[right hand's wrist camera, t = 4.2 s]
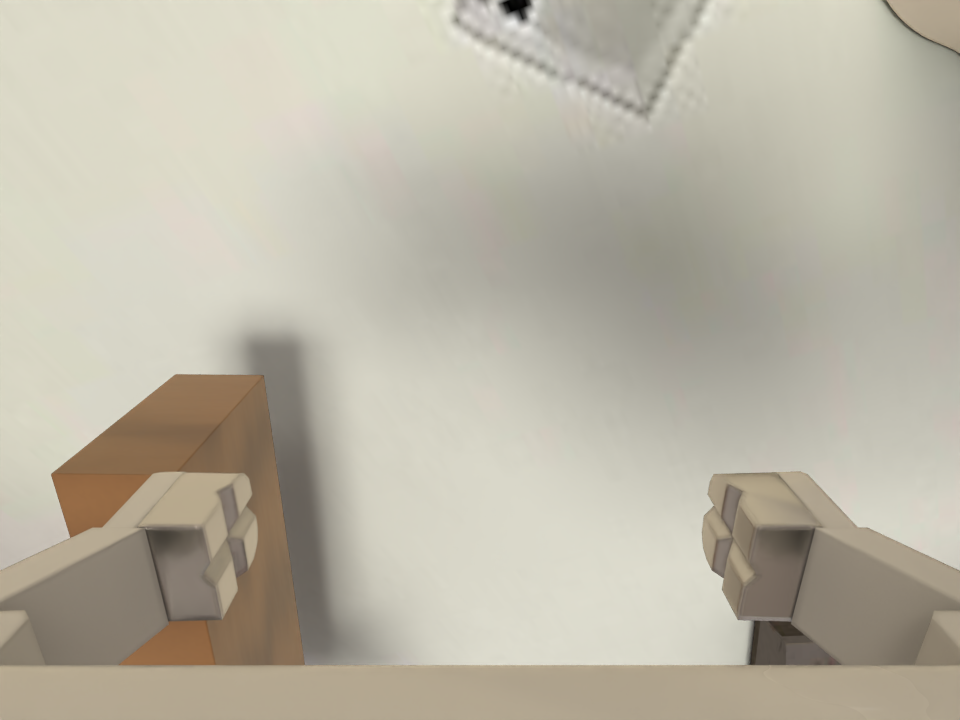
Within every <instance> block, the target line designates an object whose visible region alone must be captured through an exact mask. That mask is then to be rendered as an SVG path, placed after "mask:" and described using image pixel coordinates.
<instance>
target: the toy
mask: <svg viewBox="0 0 960 720" xmlns="http://www.w3.org/2000/svg"><path fill="white" fill-rule="evenodd" d="M791 622H792V621H756V620H755V628H754V637H753V647H752V656H751V665H841V664H840V663H839V662H838V661H836V660H835V659H834V658H833V657H831V656H830V655H829V654H828V653H826V652H825V651H824V650H823V649H821V648H820V647H819V646H818V645H817V644H815V643H814V642H813V641H812V640H810V639H809V638H808V637H807V636H805V635H804V634H803V633H802V632H800V631H799V630H798V629H797V628H795V627H794V626H793V625H792V624H791Z"/></svg>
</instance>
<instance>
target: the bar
mask: <svg viewBox="0 0 960 720" xmlns="http://www.w3.org/2000/svg"><path fill="white" fill-rule="evenodd" d="M158 472H218V473H244V474H245V475H246V476H247V477H248V478H249V480H250V485H251V490H252V496H251V498H250V499H249V501H248V503H247V504H246V506H247V507H248V508H249V509H250V510H251V511H252V512H253V513H254V514H255V515H256V519H257V525H258V543H257V547H256V552H255V556H254V559H253V561H252V563H251V565H250V567H249V570H248V571H246V572H245V573H243V574H242V575H240V576H239V577H237V578H236V580H237V586H238V591H237V593H236V595H235V596H234V598H233V600H232V602H231V604H230V606H229V608H228V610H227V612H226V614H225V616H224V617H223V619H222V620H203V621H168V622H169V625H167V626H166V627H165V628H164V629H162V630H161V631H160V632H159V633H157V634H156V635H155V636H154V637H152V638H151V639H150V640H149V641H147V642H146V643H145V644H144V645H142V646H141V647H140V648H139V649H137V650H136V651H135V652H134V653H133V654H131V655H130V656H129V657H128V658H126V659H125V660H124V661H123V662H121V663H120V664H119V665H305V663H304V656H303V649H302V642H301V635H300V628H299V621H298V614H297V607H296V599H295V592H294V585H293V578H292V571H291V564H290V557H289V550H288V543H287V536H286V529H285V522H284V515H283V508H282V501H281V494H280V487H279V480H278V473H277V466H276V459H275V452H274V445H273V438H272V431H271V423H270V416H269V409H268V402H267V395H266V388H265V381H264V376H263V375H186V374H176V375H174V376H173V377H172V378H170V379H169V380H168V381H167V382H165V383H164V384H163V385H162V386H160V387H159V388H158V389H157V390H155V391H154V392H153V393H152V394H150V395H149V396H148V397H147V398H145V399H144V400H143V401H142V402H140V403H139V404H138V405H137V406H135V407H134V408H133V409H132V410H130V411H129V412H128V413H127V414H125V415H124V416H123V417H122V418H120V419H119V420H118V421H117V422H115V423H114V424H113V425H112V426H110V427H109V428H108V429H107V430H105V431H104V432H103V433H102V434H100V435H99V436H98V437H97V438H95V439H94V440H93V441H92V442H90V443H89V444H88V445H87V446H85V447H84V448H83V449H82V450H80V451H79V452H78V453H77V454H76V455H74V456H73V457H72V458H71V459H69V460H68V461H67V462H66V463H64V464H63V465H62V466H61V467H59V468H58V469H57V470H56V471H54V472H53V473H52V474H51V476H52V479H53V482H54V486H55V489H56V492H57V495H58V499H59V502H60V505H61V508H62V512H63V515H64V518H65V522H66V525H67V528H68V531H69V535H70V538H71V537H74V536H76V535H78V534H80V533H82V532H84V531H86V530H89V529H91V528H102V527H103V526H104V525H105V524H106V523H107V522H108V521H109V520H110V519H111V518H112V517H113V516H114V514H115V513H116V512H117V511H118V510H119V509H120V508H121V507H122V506H123V505H124V504H125V503H126V502H127V501H128V500H129V499H130V498H131V496H132V495H133V494H134V493H135V492H136V491H137V490H138V489H139V488H140V487H141V486H142V485H143V484H144V483H145V482H146V481H147V480H148V478H149V477H150V476H151V475H152V474H154V473H158Z"/></svg>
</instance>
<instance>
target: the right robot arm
mask: <svg viewBox="0 0 960 720" xmlns="http://www.w3.org/2000/svg"><path fill="white" fill-rule="evenodd" d="M886 1H887V2H888V4H889V5H890V6H891V8H892V9H893V11H894V12H895V13H896V14H897V15H898V17H899V18H900V19H901V20H902V21H904V22H905V23H906V24H907V25H908V26H909V27H910V28H912V29H913V30H914V31H916V32H917V33H919V34H920V35H922V36H924V37H926V38H927V39H929V40H932V41H934V42H936V43H939V44H941V45H944V46H946V47H948V48H951V49H953V50H954V51H956V52H958V53H959V54H960V0H886ZM251 496H252V490H251V485H250V480H249V478H248V477H247V476H246V475H245V474H244V473H218V472H158V473H154V474H152V475H151V476H150V477H149V478H148V480H147V481H146V482H145V483H144V484H143V485H142V486H141V487H140V488H139V489H138V490H137V491H136V492H135V493H134V494H133V495H132V496H131V498H130V499H129V500H128V501H127V502H126V503H125V504H124V505H123V506H122V507H121V508H120V509H119V510H118V511H117V512H116V513H115V514H114V516H113V517H112V518H111V519H110V520H109V521H108V522H107V523H106V524H105V525H104V526H103V527H102V528H91V529H89V530H86V531H84V532H82V533H80V534H78V535H76V536H74V537H71V538H69V539H67V540H65V541H63V542H61V543H59V544H56V545H54V546H52V547H50V548H48V549H46V550H44V551H41V552H39V553H37V554H35V555H33V556H31V557H29V558H26V559H24V560H22V561H20V562H18V563H16V564H14V565H11V566H9V567H7V568H5V569H3V570H1V571H0V720H960V571H959V570H957V569H955V568H953V567H950V566H948V565H946V564H944V563H942V562H940V561H938V560H936V559H933V558H931V557H929V556H927V555H925V554H923V553H921V552H918V551H916V550H914V549H912V548H910V547H908V546H906V545H903V544H901V543H899V542H897V541H895V540H893V539H891V538H888V537H886V536H884V535H882V534H880V533H878V532H876V531H874V530H871V529H869V528H858V527H857V526H856V525H855V524H854V523H853V522H852V521H851V520H850V519H849V518H848V517H847V515H846V514H845V513H844V512H843V511H842V510H841V509H840V508H839V507H838V506H837V505H836V504H835V503H834V502H833V501H832V500H831V499H830V497H829V496H828V495H827V494H826V493H825V492H824V491H823V490H822V489H821V488H820V487H819V486H818V485H817V484H816V483H815V482H814V480H813V479H812V478H811V477H810V476H809V475H808V474H806V473H803V472H801V471H795V472H772V473H735V474H713V476H712V479H711V481H710V484H709V489H708V496H709V498H710V499H711V501H712V503H713V504H714V506H713V507H712V508H711V509H710V510H709V511H708V512H707V513H706V514H705V515H704V519H703V527H702V540H703V549H704V553H705V556H706V559H707V561H708V563H709V565H710V568H711V570H712V571H714V572H715V573H717V574H718V575H720V576H721V577H723V578H724V580H723V586H722V591H723V593H724V595H725V596H726V598H727V600H728V602H729V604H730V606H731V608H732V610H733V612H734V614H735V615H736V617H737V619H738V620H756V621H792V622H791V624H792V625H793V626H794V627H795V628H797V629H798V630H799V631H800V632H802V633H803V634H804V635H805V636H807V637H808V638H809V639H810V640H812V641H813V642H814V643H815V644H817V645H818V646H819V647H820V648H821V649H823V650H824V651H825V652H826V653H828V654H829V655H830V656H831V657H833V658H834V659H835V660H836V661H838V662H839V663H840V664H841V665H119V664H120V663H121V662H123V661H124V660H125V659H126V658H128V657H129V656H130V655H131V654H133V653H134V652H135V651H136V650H137V649H139V648H140V647H141V646H142V645H144V644H145V643H146V642H147V641H149V640H150V639H151V638H152V637H154V636H155V635H156V634H157V633H159V632H160V631H161V630H162V629H164V628H165V627H166V626H167V625H169V622H168V621H203V620H222V619H223V617H224V616H225V614H226V612H227V610H228V608H229V606H230V604H231V602H232V600H233V598H234V596H235V595H236V593H237V591H238V586H237V580H236V578H237V577H239V576H240V575H242V574H243V573H245V572H246V571H248V570H249V567H250V565H251V563H252V561H253V559H254V556H255V552H256V547H257V543H258V525H257V519H256V515H255V514H254V513H253V512H252V511H251V510H250V509H249V508H248V507H247V506H246V504H247V503H248V501H249V499H250V498H251Z"/></svg>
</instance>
